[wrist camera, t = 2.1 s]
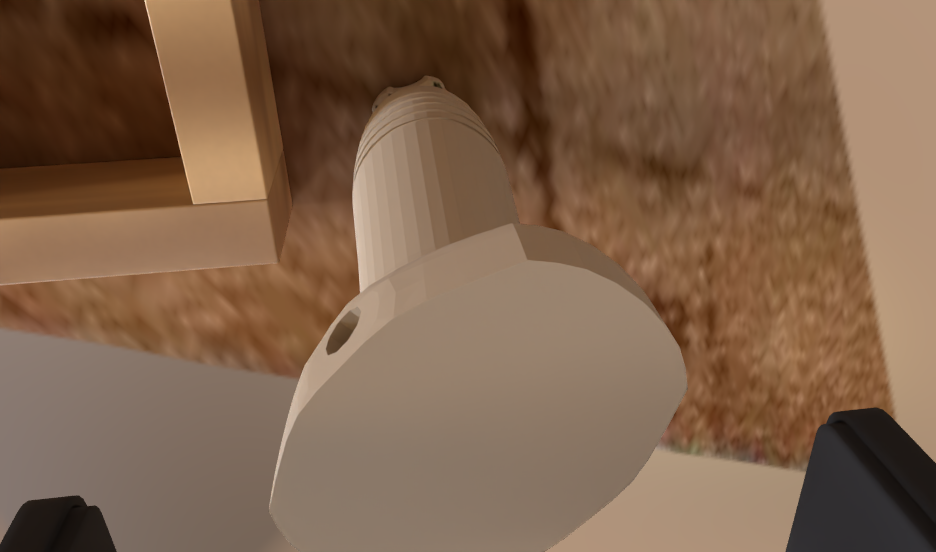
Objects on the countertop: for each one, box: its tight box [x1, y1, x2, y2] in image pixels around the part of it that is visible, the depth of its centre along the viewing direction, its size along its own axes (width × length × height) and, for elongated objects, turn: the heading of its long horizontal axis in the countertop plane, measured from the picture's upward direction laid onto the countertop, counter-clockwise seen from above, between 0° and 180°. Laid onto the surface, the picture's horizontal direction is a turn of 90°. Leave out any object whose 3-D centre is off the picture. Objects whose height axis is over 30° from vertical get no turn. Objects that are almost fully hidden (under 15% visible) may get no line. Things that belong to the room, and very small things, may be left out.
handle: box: [269, 76, 688, 552], centre depth 17 cm, size 5×6×15 cm
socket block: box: [0, 0, 293, 285], centre depth 19 cm, size 11×11×4 cm
